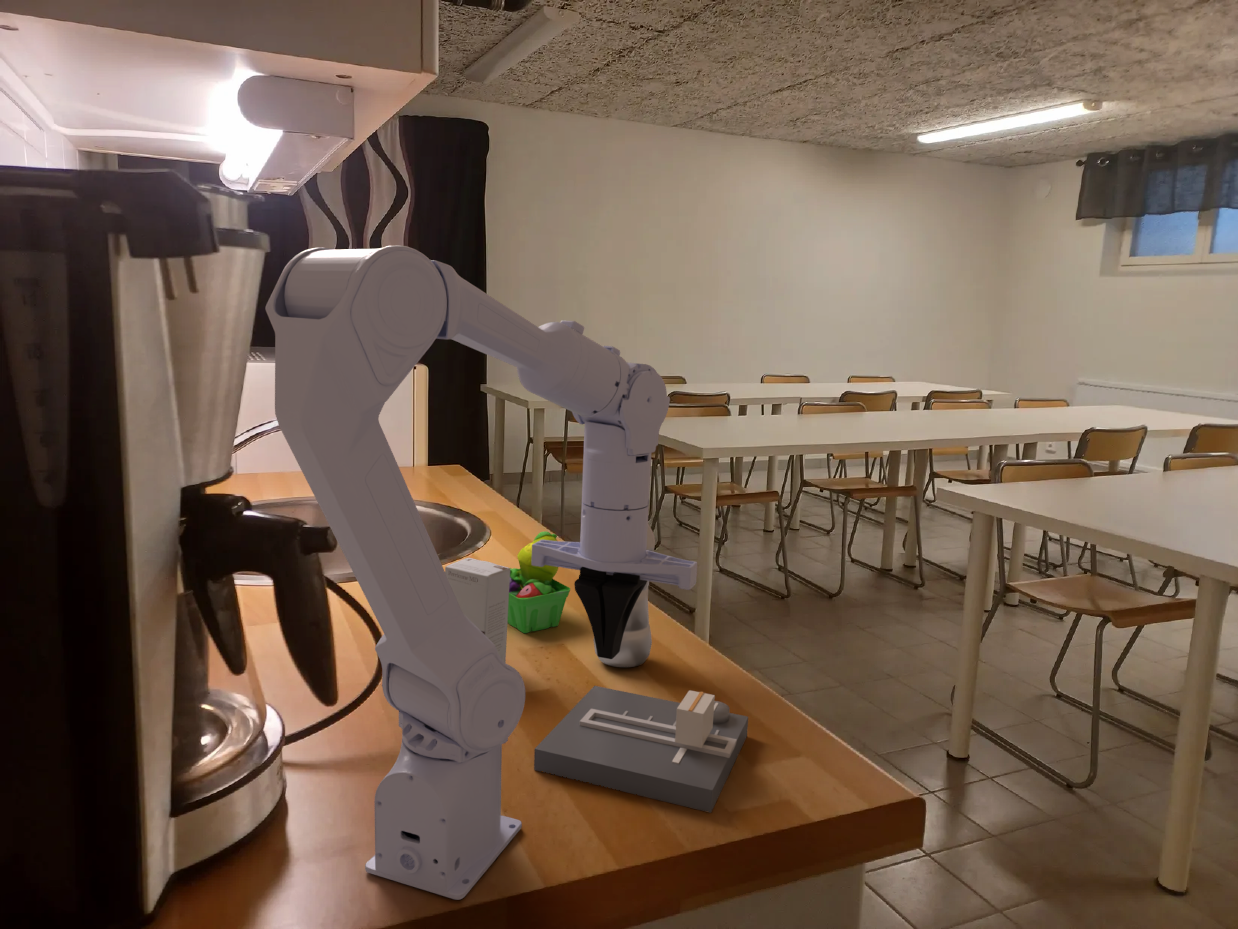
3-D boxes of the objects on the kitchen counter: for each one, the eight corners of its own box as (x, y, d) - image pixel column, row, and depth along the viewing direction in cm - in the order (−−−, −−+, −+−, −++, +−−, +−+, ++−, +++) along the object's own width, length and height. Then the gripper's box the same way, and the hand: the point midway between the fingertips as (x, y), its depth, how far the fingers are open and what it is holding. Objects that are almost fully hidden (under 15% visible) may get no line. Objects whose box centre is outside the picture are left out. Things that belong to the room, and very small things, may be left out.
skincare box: (440, 671, 95) (440, 565, 93) (466, 657, 99) (467, 556, 96) (484, 684, 92) (485, 576, 90) (509, 670, 96) (511, 565, 94)
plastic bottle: (645, 677, 95) (654, 501, 92) (586, 670, 96) (592, 496, 93) (654, 655, 101) (663, 490, 98) (599, 648, 103) (605, 485, 99)
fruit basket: (476, 611, 113) (477, 528, 111) (533, 600, 119) (535, 520, 117) (520, 639, 105) (521, 550, 103) (580, 626, 110) (583, 540, 108)
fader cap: (701, 752, 75) (703, 712, 74) (674, 746, 76) (676, 707, 75) (712, 731, 79) (714, 694, 78) (687, 726, 80) (689, 689, 79)
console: (712, 813, 70) (714, 778, 69) (534, 769, 75) (534, 737, 75) (747, 736, 83) (750, 706, 82) (593, 703, 88) (594, 675, 88)
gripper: (709, 503, 74) (700, 652, 77) (556, 485, 79) (552, 625, 81) (687, 521, 68) (678, 682, 70) (522, 500, 72) (518, 651, 75)
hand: (608, 654), depth 75 cm, fingers closed
